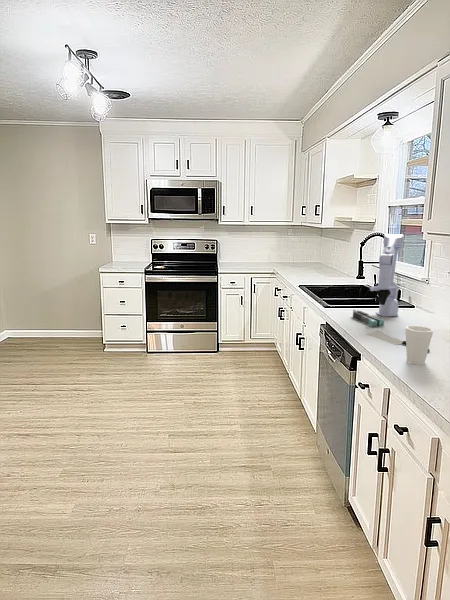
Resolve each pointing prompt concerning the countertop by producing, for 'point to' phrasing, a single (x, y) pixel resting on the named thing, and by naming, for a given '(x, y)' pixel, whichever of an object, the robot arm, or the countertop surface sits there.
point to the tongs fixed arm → (365, 319)
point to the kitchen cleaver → (387, 338)
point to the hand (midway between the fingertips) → (382, 304)
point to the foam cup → (417, 343)
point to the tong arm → (379, 321)
